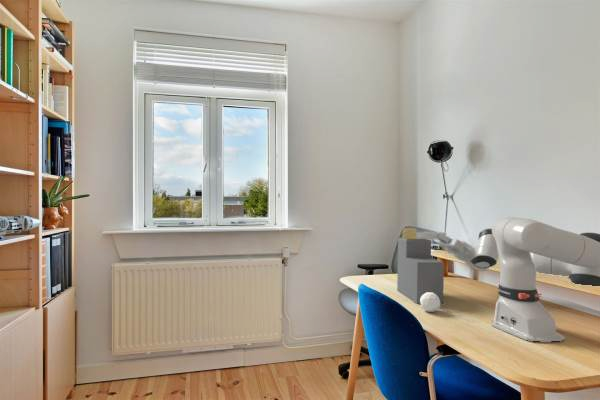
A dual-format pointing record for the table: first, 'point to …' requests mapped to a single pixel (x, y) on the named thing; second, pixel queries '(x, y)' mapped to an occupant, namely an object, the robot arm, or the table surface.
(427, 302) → the ball
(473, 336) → the table surface
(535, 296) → the robot arm
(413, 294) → the grey tall stepped block
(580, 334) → the table surface
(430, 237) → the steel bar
